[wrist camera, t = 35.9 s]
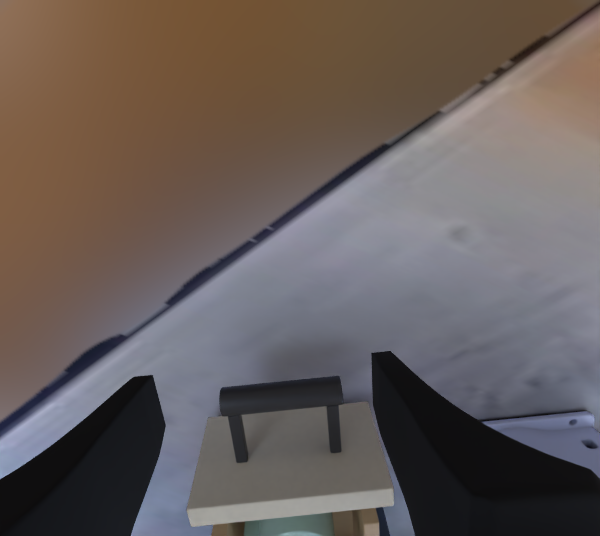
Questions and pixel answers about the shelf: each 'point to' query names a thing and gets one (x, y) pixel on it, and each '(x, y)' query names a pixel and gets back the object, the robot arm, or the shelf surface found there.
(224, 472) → the drawer
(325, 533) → the cream jug
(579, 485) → the robot arm
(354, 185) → the shelf surface
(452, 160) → the shelf surface
